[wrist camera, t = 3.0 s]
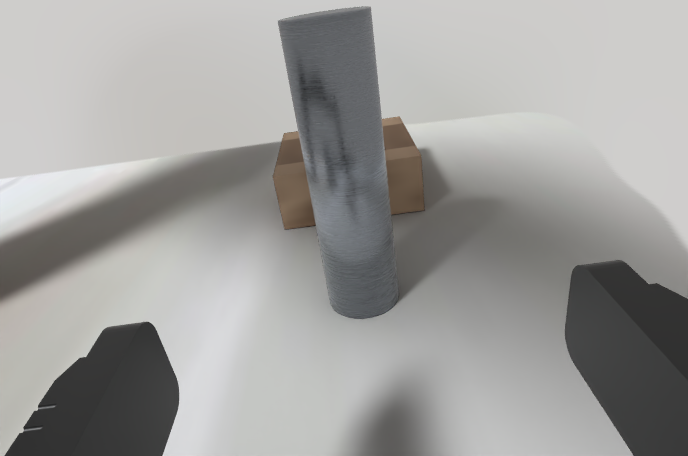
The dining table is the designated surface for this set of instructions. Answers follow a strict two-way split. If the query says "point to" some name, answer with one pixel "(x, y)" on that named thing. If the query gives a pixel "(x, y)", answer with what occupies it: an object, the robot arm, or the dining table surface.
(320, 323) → the dining table surface
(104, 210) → the dining table surface
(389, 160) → the wooden square socket block
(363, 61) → the rod
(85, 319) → the dining table surface
